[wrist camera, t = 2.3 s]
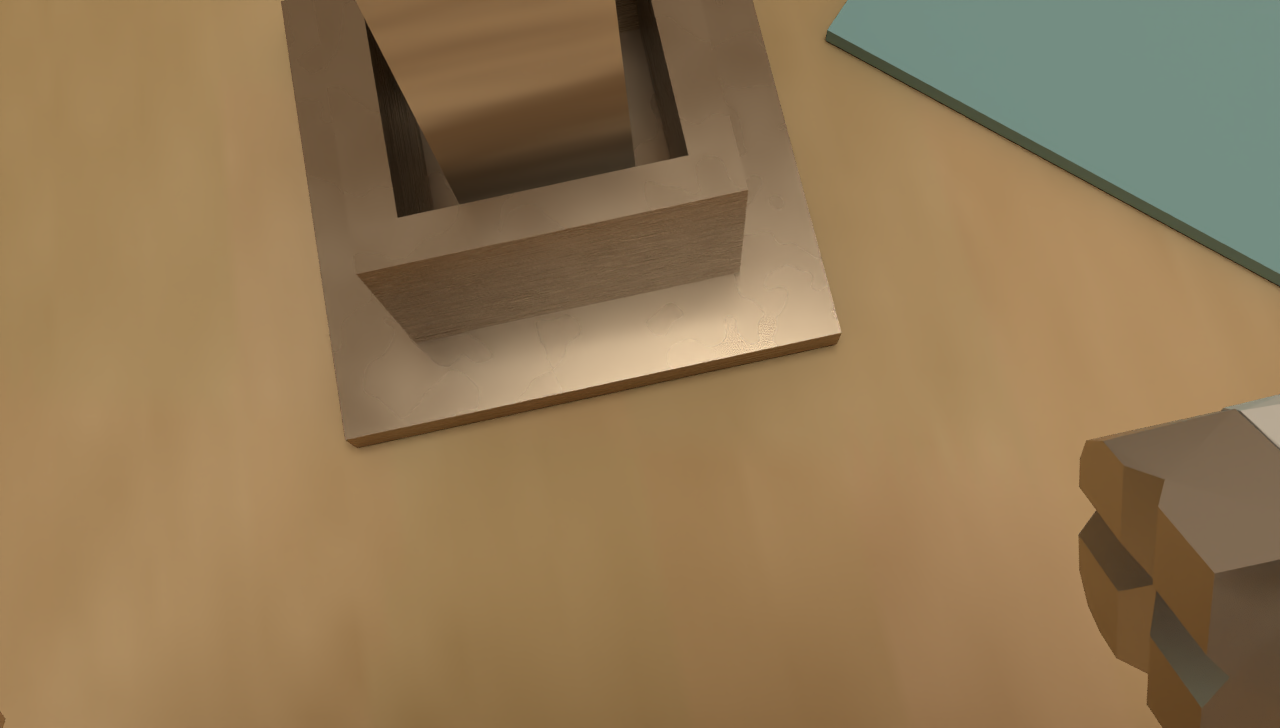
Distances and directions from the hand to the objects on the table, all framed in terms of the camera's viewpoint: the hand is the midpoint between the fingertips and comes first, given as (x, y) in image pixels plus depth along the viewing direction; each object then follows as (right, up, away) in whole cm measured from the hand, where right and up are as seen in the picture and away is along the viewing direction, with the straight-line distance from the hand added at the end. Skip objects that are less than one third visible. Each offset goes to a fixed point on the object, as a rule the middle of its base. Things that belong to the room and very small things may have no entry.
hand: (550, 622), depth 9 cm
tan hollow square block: (-2, +7, +21) cm, 23 cm away
